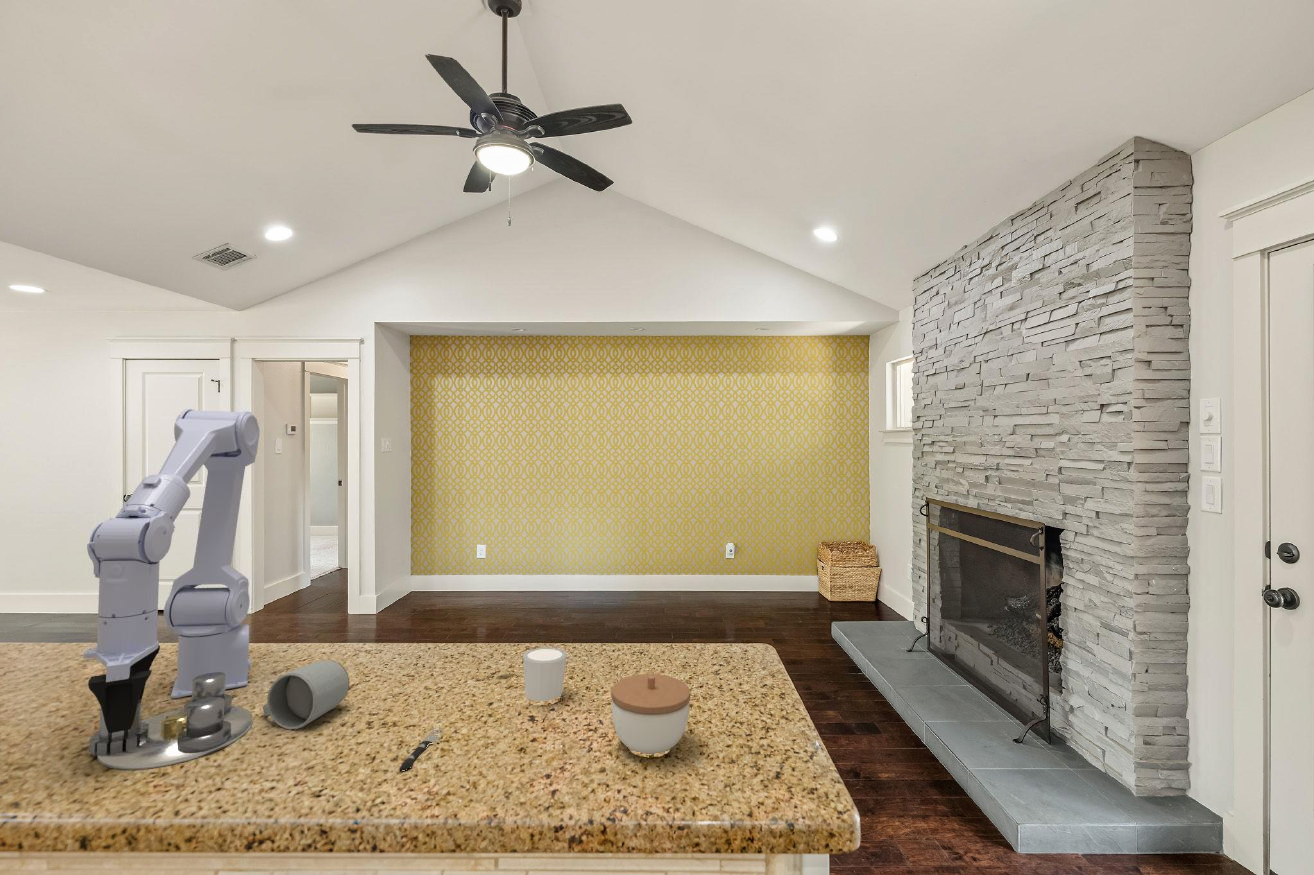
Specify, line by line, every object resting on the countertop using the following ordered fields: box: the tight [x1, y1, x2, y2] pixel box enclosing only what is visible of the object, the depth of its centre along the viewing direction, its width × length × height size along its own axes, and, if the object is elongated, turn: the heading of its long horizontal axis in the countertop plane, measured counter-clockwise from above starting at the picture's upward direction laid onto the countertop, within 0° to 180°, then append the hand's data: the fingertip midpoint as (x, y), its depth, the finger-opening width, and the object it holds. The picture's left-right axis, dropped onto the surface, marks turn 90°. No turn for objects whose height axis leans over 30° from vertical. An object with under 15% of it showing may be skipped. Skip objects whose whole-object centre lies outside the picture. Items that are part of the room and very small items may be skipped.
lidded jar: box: [610, 673, 691, 754], centre depth 80 cm, size 11×11×9 cm
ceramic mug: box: [262, 659, 350, 730], centre depth 86 cm, size 11×8×8 cm
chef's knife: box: [398, 725, 443, 772], centre depth 81 cm, size 19×1×3 cm
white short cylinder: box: [522, 646, 567, 702], centre depth 94 cm, size 7×7×7 cm
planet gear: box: [88, 699, 149, 756], centre depth 75 cm, size 6×6×5 cm
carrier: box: [96, 672, 254, 771], centre depth 79 cm, size 16×16×6 cm
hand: (124, 717), depth 75 cm, fingers open, 7 cm apart
